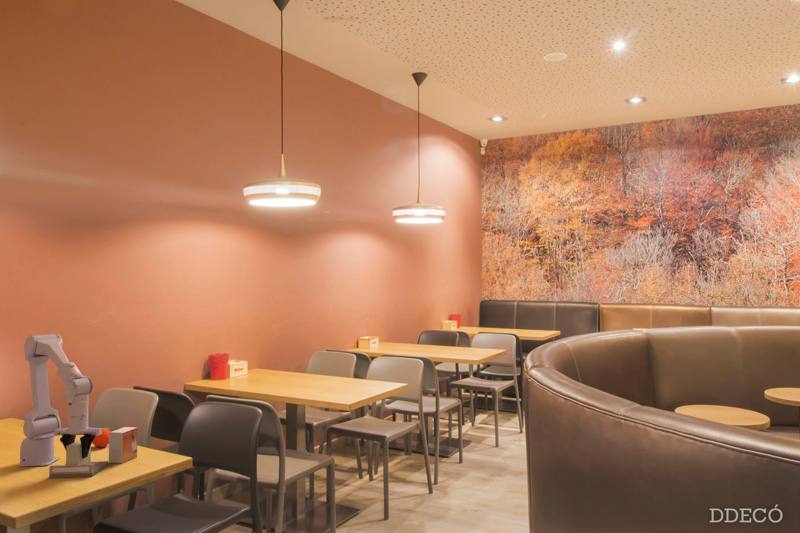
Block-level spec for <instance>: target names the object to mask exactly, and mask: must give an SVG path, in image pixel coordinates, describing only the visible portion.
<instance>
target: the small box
mask: <svg viewBox="0 0 800 533" xmlns="http://www.w3.org/2000/svg"><path fill="white" fill-rule="evenodd" d="M135 457H136V458H138V427H135V426H134V427H132V426H131V427H130V426H123V427H121V428H118V429H115V430H112V431H110V432H109V444H108V464H110V463H111V464H124V463H126V462H128V461H131V460H133V458H134V459H136V458H135Z"/></svg>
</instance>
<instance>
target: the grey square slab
mask: <svg viewBox="0 0 800 533" xmlns="http://www.w3.org/2000/svg"><path fill="white" fill-rule="evenodd" d="M108 465H109V460H106V461H105V460H103V461H102V460H101V461H91V462H89V463H87V464H84V465H66V463H65V464H64V465H63V464H62V465H61V464H60V465H50V466H49V468H48V469H49V470H48V472H49V473H48V475H49V476H48V478H49V479H63V478H64V479H67V478H68V479H69V478H70V479H71V478H85V477H86V478H91V477H94V476H95V475H97V474H98V473H99V472H101V471H102V470H104V469H105V468H106V467H107V466H108Z"/></svg>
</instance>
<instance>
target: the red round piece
mask: <svg viewBox="0 0 800 533" xmlns="http://www.w3.org/2000/svg"><path fill="white" fill-rule="evenodd" d="M101 428H102V427H101ZM109 432H111V428H109V427H103V428H102V434H101V435H96V436H95V438H94V440H93V442H92V445H94V446H95V447H96V448H104V447H106V446H109Z"/></svg>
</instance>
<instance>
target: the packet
mask: <svg viewBox="0 0 800 533" xmlns="http://www.w3.org/2000/svg"><path fill="white" fill-rule="evenodd" d="M91 449H92V445H91V446H90V449H89V453H88V457H86V458H82V446H81V441H80V439H79V440H77V441H76V440H75V442H74V443H72V444H70V445H68V446H66V450H65V452H66V453H65V464H66V465H84V464H87V463H89V462H92V461H91V457H92V455H91V453H92V450H91Z"/></svg>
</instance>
